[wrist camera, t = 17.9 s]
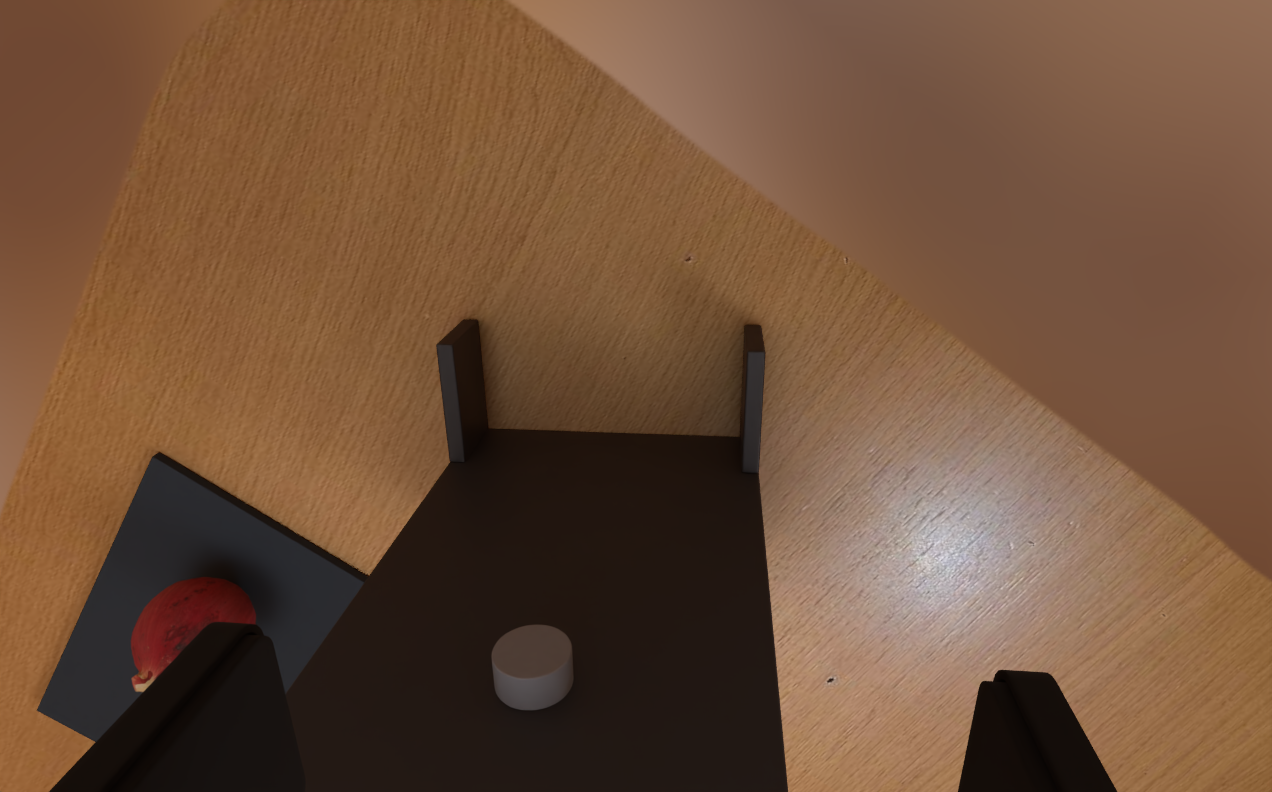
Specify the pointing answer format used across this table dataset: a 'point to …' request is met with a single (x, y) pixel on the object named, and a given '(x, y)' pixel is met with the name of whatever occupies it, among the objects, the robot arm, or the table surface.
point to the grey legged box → (559, 617)
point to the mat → (185, 549)
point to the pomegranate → (183, 622)
